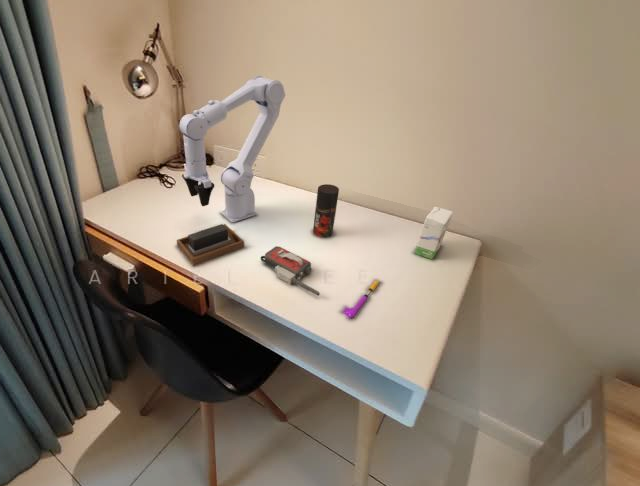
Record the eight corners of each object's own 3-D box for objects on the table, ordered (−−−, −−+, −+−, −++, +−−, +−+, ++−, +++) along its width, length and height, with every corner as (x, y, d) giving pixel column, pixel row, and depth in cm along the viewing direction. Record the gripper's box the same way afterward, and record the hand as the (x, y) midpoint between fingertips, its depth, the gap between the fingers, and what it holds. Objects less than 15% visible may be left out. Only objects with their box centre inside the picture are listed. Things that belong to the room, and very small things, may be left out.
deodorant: (336, 231, 110) (342, 188, 101) (325, 240, 106) (332, 195, 98) (319, 225, 113) (325, 182, 105) (309, 232, 109) (313, 189, 101)
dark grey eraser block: (224, 236, 108) (224, 222, 105) (231, 242, 105) (230, 228, 102) (188, 248, 103) (187, 234, 100) (194, 255, 100) (192, 241, 97)
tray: (225, 230, 112) (225, 223, 111) (244, 247, 104) (244, 241, 102) (177, 246, 105) (176, 239, 104) (193, 266, 97) (192, 259, 96)
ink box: (432, 260, 97) (445, 223, 90) (413, 253, 100) (425, 217, 93) (441, 246, 102) (454, 210, 96) (423, 240, 105) (434, 205, 98)
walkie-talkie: (254, 265, 97) (316, 300, 85) (254, 252, 94) (317, 287, 82) (275, 251, 102) (335, 283, 90) (275, 238, 99) (338, 269, 87)
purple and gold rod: (352, 319, 80) (380, 283, 90) (351, 315, 79) (380, 279, 89) (341, 316, 81) (369, 281, 92) (340, 312, 81) (369, 277, 91)
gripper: (173, 153, 105) (178, 194, 112) (193, 169, 95) (197, 213, 102) (194, 148, 108) (198, 189, 115) (216, 164, 97) (219, 207, 105)
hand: (199, 200), depth 109 cm, fingers open, 7 cm apart
